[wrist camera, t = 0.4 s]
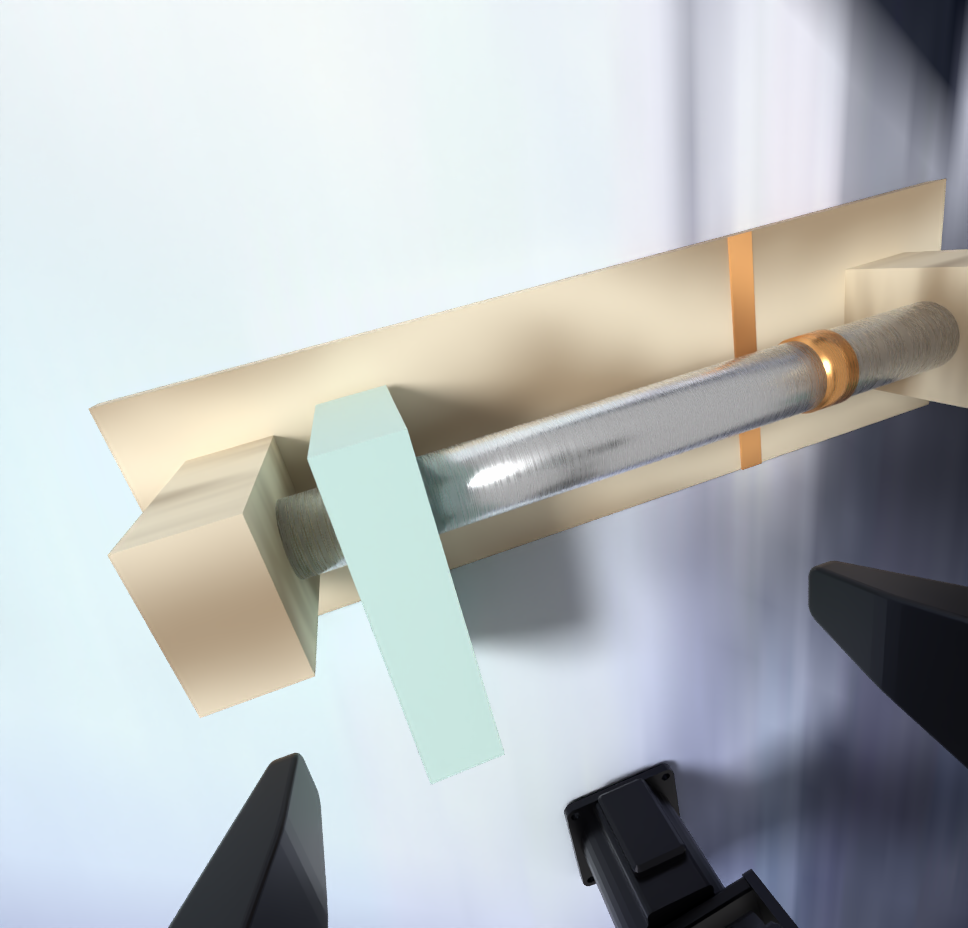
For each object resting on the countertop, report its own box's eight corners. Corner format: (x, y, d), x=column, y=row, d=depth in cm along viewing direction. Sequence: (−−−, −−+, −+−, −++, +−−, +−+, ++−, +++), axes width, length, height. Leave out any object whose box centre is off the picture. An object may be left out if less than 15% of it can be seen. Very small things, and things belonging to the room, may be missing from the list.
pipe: (946, 347, 23) (1023, 355, 20) (219, 585, 18) (201, 635, 16) (952, 278, 22) (1034, 278, 19) (184, 512, 17) (157, 553, 15)
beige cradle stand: (912, 400, 27) (1119, 443, 20) (219, 638, 22) (162, 813, 15) (927, 181, 23) (1186, 138, 16) (98, 403, 18) (-56, 483, 11)
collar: (463, 638, 23) (504, 754, 18) (407, 659, 23) (431, 784, 17) (385, 384, 19) (407, 428, 13) (315, 404, 19) (307, 459, 13)
